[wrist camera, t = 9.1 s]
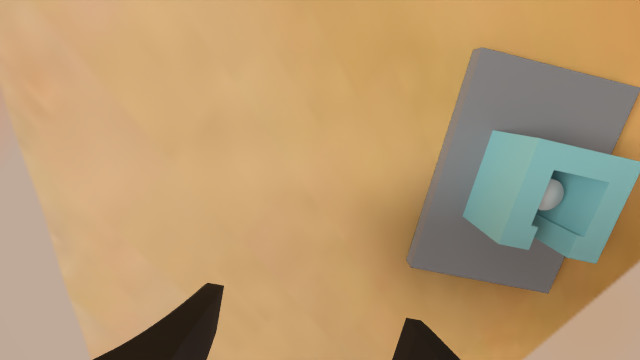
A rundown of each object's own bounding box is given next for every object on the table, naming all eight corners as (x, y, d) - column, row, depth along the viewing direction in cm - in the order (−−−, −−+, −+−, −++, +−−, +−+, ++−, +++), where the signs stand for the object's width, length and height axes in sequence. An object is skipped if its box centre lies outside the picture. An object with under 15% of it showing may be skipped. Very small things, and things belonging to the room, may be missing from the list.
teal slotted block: (492, 130, 19) (539, 138, 15) (577, 150, 19) (644, 162, 16) (462, 216, 20) (498, 244, 16) (542, 232, 21) (596, 263, 17)
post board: (538, 285, 23) (577, 317, 19) (406, 259, 22) (423, 289, 19) (624, 88, 20) (690, 86, 16) (473, 50, 19) (509, 39, 15)
